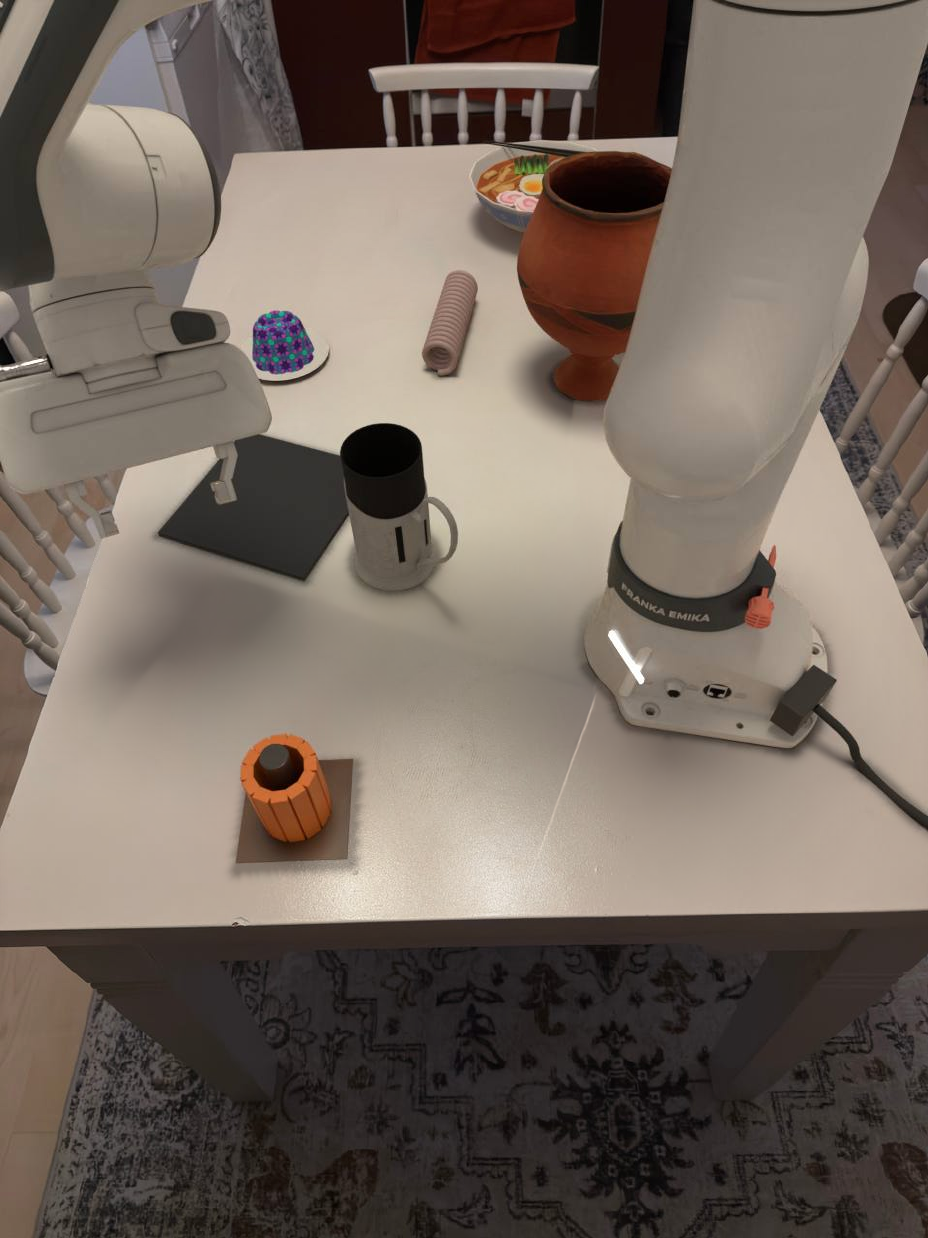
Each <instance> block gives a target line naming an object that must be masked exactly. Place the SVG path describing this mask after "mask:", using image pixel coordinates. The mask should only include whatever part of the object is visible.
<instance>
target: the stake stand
mask: <svg viewBox="0 0 928 1238" xmlns="http://www.w3.org/2000/svg"><path fill="white" fill-rule="evenodd" d="M259 761H260V764H261V766H262V768H263V770H264V772H265V775H266V777H267V779H268V781H269V783H270V785H271V787H272V790H273V791H279V790H286V789H287V788H289V787H290V786H292V785H293V784H295V783H296V782H298V780H299V777H298V775H297V772H296V770H295V767H294V765H293V762H292V760H291V757H290V754H289V752H288V750H287V748H286V747H285V746H283V745H281V744H271V745H268V746H267V747H265V748H264V749H263V750H262V752H261V753H260V757H259ZM318 761H319V764H320V767H321V770H322V773H323V776H324V779H325V782H326V785H327V787H328V790H329V793H330V796H331V811H330V816H329V818H328V820H327V822H326V824H325V825H324V827H321V826H320V827H321V830H320V831H319V832H317V833H316V834H315V835H313V836H312V837H310V838H309V839H307V837H306V836H305V840H302V841H295V842H289V840H287V842H284V841H282V840H279V839H277V838H274V837H272V835H270V834H269V833H268V831H267V830H266V828H265V827H264V825H263V824H262V822H261V820H260V818H259V816H258V814H257V812H256V810H255V808H254V807H253V805H252V803H251V801H250V799H249V797H248V795H247V793H246V792H245V795H244V802H243V808H242V816H241V823H240V829H239V836H238V843H237V851H236V858H235V864H250V863H251V864H255V863H257V864H258V863H282V862H286V863H287V862H309V861H311V862H313V861H336V860H337V861H338V860H339V861H341V860H348V857H349V856H348V855H349V841H350V840H349V838H350V821H351V802H352V785H353V767H354V758H341V759H340V758H339V759H337V758H336V759H318Z"/></svg>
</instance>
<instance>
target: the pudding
mask: <svg viewBox="0 0 928 1238" xmlns="http://www.w3.org/2000/svg"><path fill="white" fill-rule="evenodd" d="M239 348H240V349H241V350H242V351H243V352H244V353H245V354H246V356H247V357H248V359H249V360H250V362H251V364H252V366H253V368H254V370H255V372H256V374H257V376H258V379H259V380H263V381H270V382H272V381H273V382H275V381H277V382H278V381H279V382H281V381H288V380H293V379H298V378H300V377H303V376H306V375H308V374H310V373H312V372H313V371H315V370H316V369H318V368H319V367H320V366H321V365H322V364H323V363H324V362H325V361H326V360H327V358H328V355H329V353H330V346H329V343H328V340H327V339H326V337H325V336H324V334H321V333H320V332H319V331H318V330H316V329H313V328H310V327H308V326H307V327H306V326H304V324H303V323H302V320H301V319H300V318H299V317H298V316H297V315H295V314H294V313H292V312H291V311H288V310H271V311H269V312H267V313H263V314H261V315H260V316H259V317H258V318H257V320H256V321H254V324H253V326H252V335H251V336H250V337H248V338H247V339H246V340H244V342H243V343H242V344H241V345H240V347H239Z"/></svg>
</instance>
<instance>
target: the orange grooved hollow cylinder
mask: <svg viewBox="0 0 928 1238" xmlns="http://www.w3.org/2000/svg"><path fill="white" fill-rule="evenodd" d="M271 744H281V745H283V746H285V747H286V748H287V750H288V752H289V754H290V757H291V760H292V762H293V765H294V767H295V770H296V772H297V775H298V777H299V780H298V782H296V783H295V784H293V785H292V786H290V787H289V788H287V789H286V790H279V791H273V790H272V787H271V785H270V783H269V781H268V779H267V777H266V775H265V772H264V770H263V768H262V766H261V764H260V761H259V757H260V753H261V752H262V750H263V749H264V748H265V747H267V746H268V745H271ZM318 760H319V758H318V756H317V753H316V751H315V749H314V748H313V747H312V746H311V744H310V743H309V742H308V740H305V738H302V737H300V736H297V735H294V734H291V733H289V734H288V733H280V734H275V735H274V734H273V735H270V736H269V737H268V736H266V737H265V738H263V739H261V740H260V741H259V742H257V743H255V744H254V745H252V748H249V749H248V752H247V753H246V755H245V756H244V758H243V760H242V761H241V765H240V782H241V783H240V784H241V786H242V788H243V789H244V791H245V793H247V795H248V797H249V799H250V801H251V803H252V805H253V807H254V808H255V810H256V812H257V814H258V816H259V818H260V820H261V822H262V824H263V825H264V827H265V828H266V830H267V831H268V833H269V834H270V835H272V837H274V838H277V839H279V840H282V841H284V842H287V840H289V842H295V841H302V840H305V836H306V837H307V839H309V838H310V837H312V836H313V835H315V834H316V833H317V832H319V831H320V830H321V827H324V825H325V824H326V822H327V820H328V818H329V816H330V811H331V796H330V793H329V790H328V787H327V785H326V782H325V779H324V776H323V773H322V770H321V767H320V764H319V761H318ZM320 826H321V827H320Z"/></svg>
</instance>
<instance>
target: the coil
mask: <svg viewBox="0 0 928 1238" xmlns="http://www.w3.org/2000/svg"><path fill="white" fill-rule="evenodd" d="M478 287H479V286H478V283H477V280H476V279H475V277H474V276H473V275H472V274H471V273H469V272H468V271H466V270H463V269H456V270H453V271H451V272H449V273H448V274H447V275H446V277H445V280H444V282H443V285H442V289H441V292H440V295H439V298H438V302H437V304H436V308H435V311H434V314H433V316H432V320H431V322H430V326H429V329H428V331H427V335H426V338H425V341H424V345H423V347H422V350H421V357H422V360H423V362H424V363H425V364H426V366H427V367H428V368H430V369H433V370H435V371H437V376H439V377H440V376H447V375H449V374H451V373H452V372H454V370H455V369H456V368H457V366H458V362H459V358H460V356H461V351H462V348H463V345H464V341H465V337H466V333H467V331H468V327H469V323H470V320H471V315H472V312H473V308H474V306H475V301H476V299H477V294H478V291H479V288H478Z"/></svg>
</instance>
